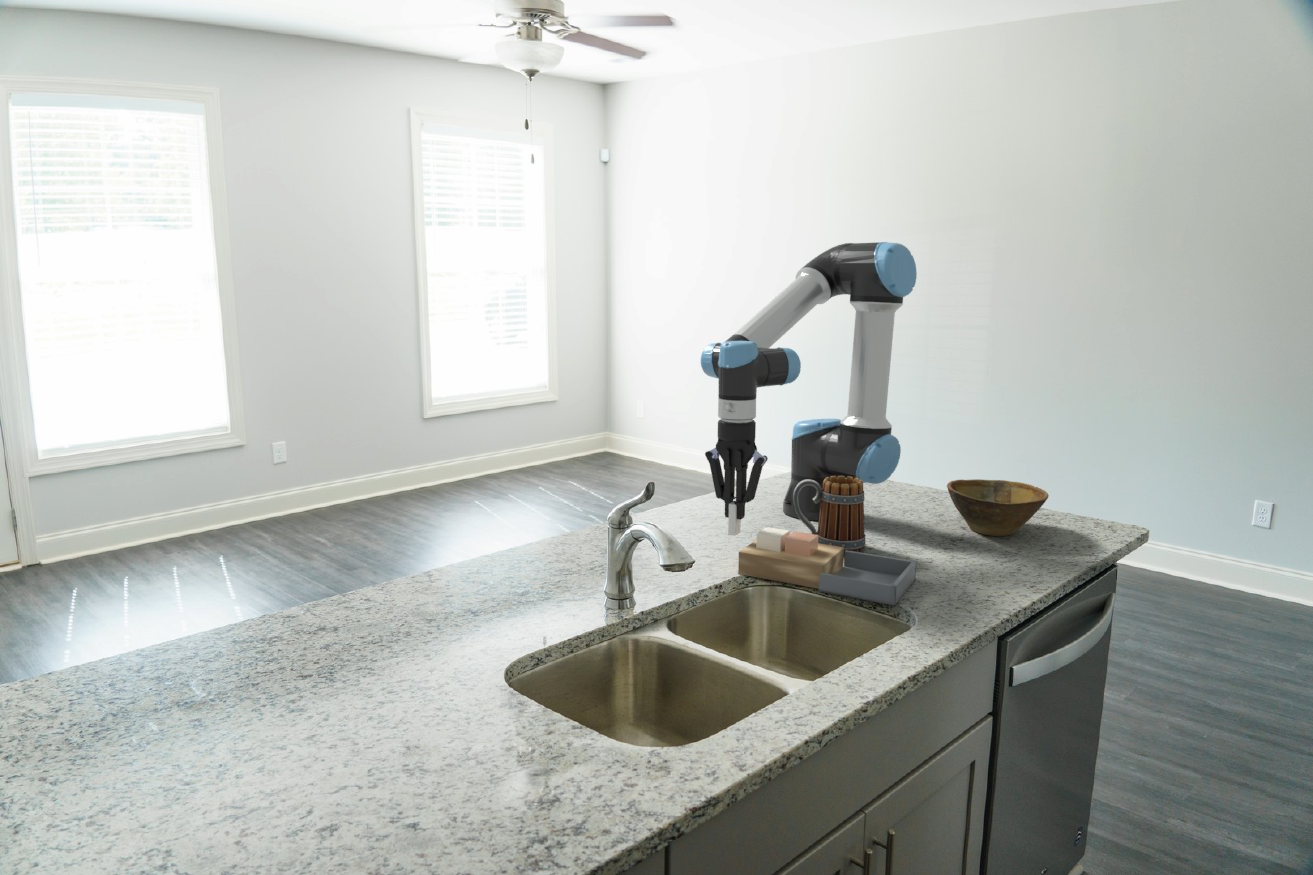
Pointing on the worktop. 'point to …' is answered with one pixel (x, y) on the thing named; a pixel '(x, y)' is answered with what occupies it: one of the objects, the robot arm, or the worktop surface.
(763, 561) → the oak board
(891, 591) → the tray
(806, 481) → the mug
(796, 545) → the tile terracotta
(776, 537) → the tile cream
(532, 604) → the worktop surface
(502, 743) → the worktop surface
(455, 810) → the worktop surface
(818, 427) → the robot arm
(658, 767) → the worktop surface
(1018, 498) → the bowl
